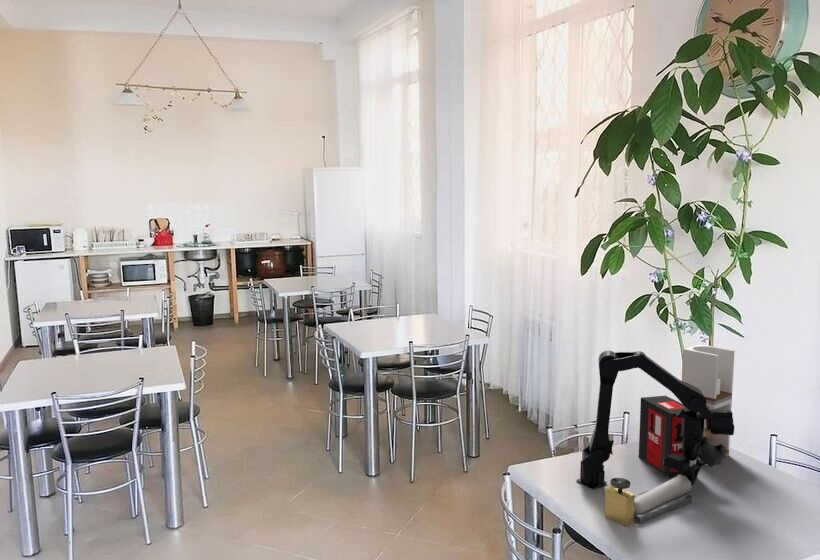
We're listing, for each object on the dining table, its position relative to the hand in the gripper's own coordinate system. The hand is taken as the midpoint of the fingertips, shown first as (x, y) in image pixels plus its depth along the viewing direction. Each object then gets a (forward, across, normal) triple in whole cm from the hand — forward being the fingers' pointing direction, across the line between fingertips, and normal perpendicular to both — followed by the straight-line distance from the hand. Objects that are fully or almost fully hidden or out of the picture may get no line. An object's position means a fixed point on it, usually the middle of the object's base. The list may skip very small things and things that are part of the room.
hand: (691, 484), depth 200 cm
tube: (+2, -14, 0) cm, 14 cm away
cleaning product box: (+2, +10, +16) cm, 19 cm away
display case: (+3, +28, +15) cm, 32 cm away
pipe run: (+2, -19, 0) cm, 19 cm away
